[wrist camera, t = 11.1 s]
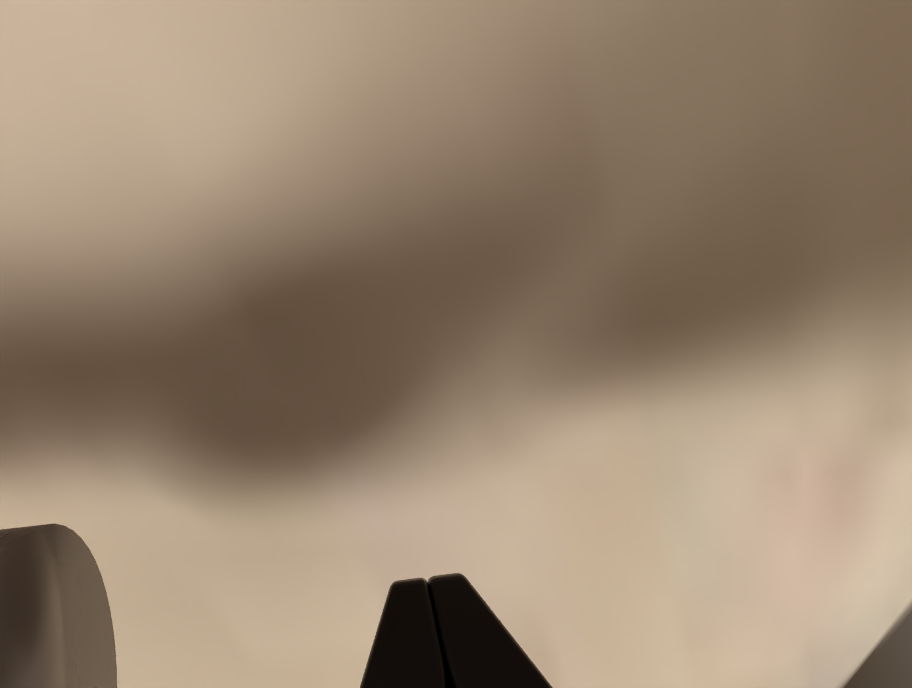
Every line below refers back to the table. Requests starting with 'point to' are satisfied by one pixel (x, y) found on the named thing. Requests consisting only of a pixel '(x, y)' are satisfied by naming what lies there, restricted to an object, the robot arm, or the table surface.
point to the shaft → (53, 612)
